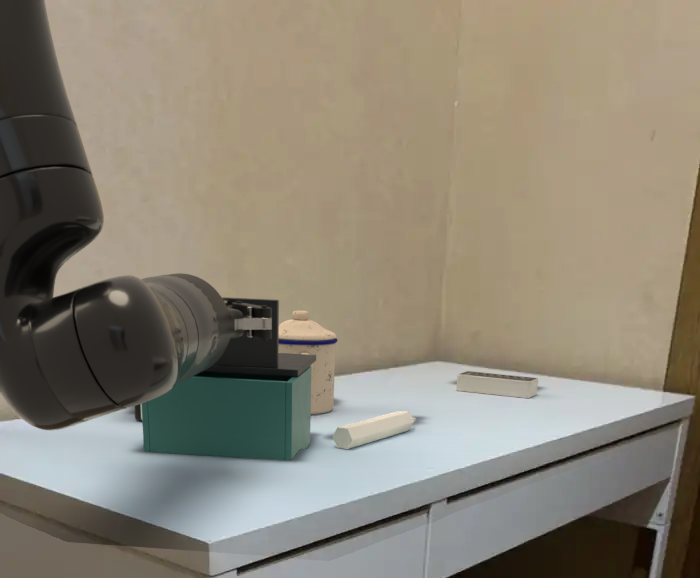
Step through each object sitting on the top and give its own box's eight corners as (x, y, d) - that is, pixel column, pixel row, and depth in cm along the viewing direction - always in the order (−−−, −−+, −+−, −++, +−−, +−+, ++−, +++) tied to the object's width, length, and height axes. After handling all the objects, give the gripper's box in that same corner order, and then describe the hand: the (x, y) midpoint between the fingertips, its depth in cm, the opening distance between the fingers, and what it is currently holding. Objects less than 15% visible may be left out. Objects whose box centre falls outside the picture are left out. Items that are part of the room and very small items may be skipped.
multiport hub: (528, 398, 131) (530, 381, 130) (455, 390, 136) (456, 374, 135) (537, 394, 135) (539, 378, 134) (465, 386, 139) (467, 370, 138)
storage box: (144, 461, 88) (140, 374, 85) (179, 436, 99) (176, 358, 96) (291, 470, 87) (292, 382, 84) (310, 444, 98) (311, 365, 95)
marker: (416, 432, 109) (343, 453, 96) (403, 421, 110) (329, 441, 97) (428, 414, 108) (355, 433, 95) (414, 403, 108) (341, 420, 95)
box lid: (150, 368, 88) (147, 294, 85) (185, 354, 99) (183, 287, 96) (298, 376, 87) (299, 301, 84) (316, 360, 98) (317, 293, 95)
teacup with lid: (259, 402, 120) (259, 307, 116) (329, 402, 122) (331, 308, 117) (268, 420, 109) (268, 315, 105) (345, 420, 111) (348, 317, 106)
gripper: (255, 279, 67) (295, 271, 83) (78, 271, 68) (150, 264, 84) (256, 385, 70) (293, 358, 86) (85, 376, 71) (154, 350, 87)
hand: (222, 311), depth 85 cm, fingers closed
